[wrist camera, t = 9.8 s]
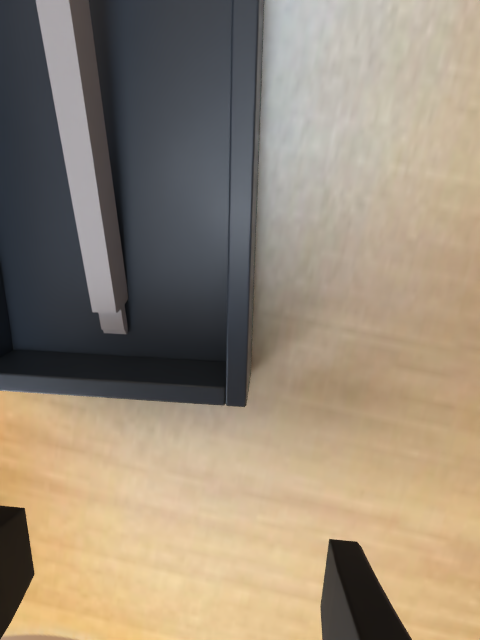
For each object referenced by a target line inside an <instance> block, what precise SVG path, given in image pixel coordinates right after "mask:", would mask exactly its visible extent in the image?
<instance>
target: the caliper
mask: <svg viewBox="0 0 480 640" xmlns="http://www.w3.org/2000/svg"><path fill="white" fill-rule="evenodd" d="M36 5H37V11H38V16H39V22H40V27H41V33H42V38H43V44H44V49H45V55H46V60H47V66H48V71H49V77H50V83H51V88H52V94H53V99H54V105H55V110H56V116H57V121H58V127H59V132H60V138H61V143H62V149H63V154H64V160H65V165H66V171H67V176H68V182H69V187H70V193H71V198H72V204H73V209H74V215H75V220H76V226H77V231H78V237H79V242H80V247H81V253H82V258H83V264H84V269H85V275H86V280H87V286H88V291H89V296H90V302H91V307H92V312H98V313H99V319H100V324H101V330H103V331H104V333H113V334H127V333H128V327H127V318H126V312H125V303H126V302H127V300H128V291H127V284H126V276H125V269H124V262H123V254H122V247H121V239H120V232H119V225H118V217H117V210H116V203H115V195H114V188H113V180H112V173H111V166H110V158H109V151H108V144H107V136H106V129H105V121H104V114H103V106H102V99H101V91H100V83H99V76H98V68H97V61H96V53H95V45H94V38H93V30H92V23H91V15H90V8H89V0H36Z"/></svg>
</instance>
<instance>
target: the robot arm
mask: <svg viewBox="0 0 480 640" xmlns="http://www.w3.org/2000/svg"><path fill="white" fill-rule="evenodd" d="M33 576H34V568H33V561H32V554H31V547H30V541H29V534H28V527H27V520H26V514H25V508H18V507H8V506H0V639H1V637H2V636H3V634H4V633H5V631H6V629H7V628H8V626H9V624H10V623H11V621H12V619H13V617H14V615H15V613H16V611H17V609H18V607H19V605H20V603H21V601H22V599H23V597H24V595H25V593H26V591H27V589H28V587H29V585H30V583H31V580H32V578H33ZM321 622H322V639H323V640H412V639H411V637H410V636H409V634H408V632H407V631H406V629H405V627H404V626H403V624H402V622H401V621H400V619H399V617H398V615H397V614H396V612H395V610H394V608H393V607H392V605H391V603H390V601H389V599H388V598H387V596H386V594H385V592H384V590H383V589H382V587H381V585H380V583H379V581H378V579H377V577H376V575H375V574H374V572H373V570H372V568H371V566H370V564H369V562H368V560H367V558H366V556H365V554H364V552H363V550H362V547H361V546H360V545H359V544H358V543H357V542H353V541H343V540H334V539H329V546H328V553H327V561H326V569H325V576H324V584H323V592H322V600H321Z"/></svg>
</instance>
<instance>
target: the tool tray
mask: <svg viewBox="0 0 480 640" xmlns="http://www.w3.org/2000/svg"><path fill="white" fill-rule="evenodd" d="M89 8H90V15H91V23H92V30H93V38H94V45H95V53H96V61H97V68H98V76H99V83H100V91H101V99H102V106H103V114H104V121H105V129H106V136H107V144H108V151H109V158H110V166H111V173H112V180H113V188H114V195H115V203H116V210H117V217H118V225H119V232H120V239H121V247H122V254H123V262H124V269H125V276H126V284H127V291H128V300H127V302H126V303H125V312H126V318H127V327H128V333H127V334H113V333H104V331H103V330H101V324H100V319H99V313H98V312H92V307H91V302H90V296H89V291H88V286H87V280H86V275H85V269H84V264H83V258H82V253H81V247H80V242H79V237H78V231H77V226H76V220H75V215H74V209H73V204H72V198H71V193H70V187H69V182H68V176H67V171H66V165H65V160H64V154H63V149H62V143H61V138H60V132H59V127H58V121H57V116H56V110H55V105H54V99H53V94H52V88H51V83H50V77H49V71H48V66H47V60H46V55H45V49H44V44H43V38H42V33H41V27H40V22H39V16H38V11H37V5H36V0H0V391H13V392H28V393H43V394H58V395H74V396H89V397H104V398H119V399H134V400H149V401H164V402H179V403H194V404H209V405H225V404H226V405H227V406H238V407H245V406H246V403H247V396H248V390H249V383H250V376H251V356H252V328H253V300H254V273H255V245H256V217H257V189H258V161H259V134H260V106H261V78H262V50H263V22H264V0H89Z"/></svg>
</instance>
